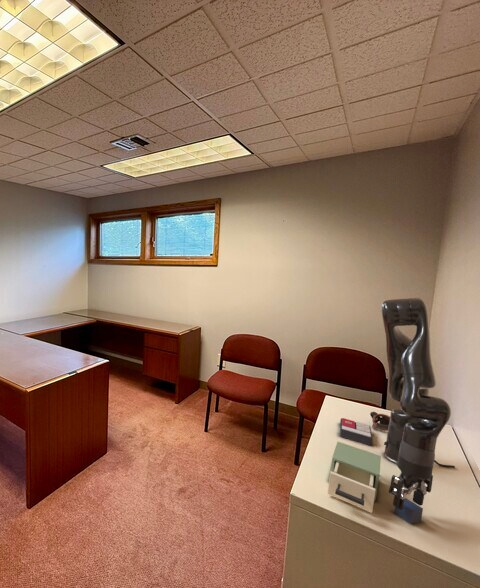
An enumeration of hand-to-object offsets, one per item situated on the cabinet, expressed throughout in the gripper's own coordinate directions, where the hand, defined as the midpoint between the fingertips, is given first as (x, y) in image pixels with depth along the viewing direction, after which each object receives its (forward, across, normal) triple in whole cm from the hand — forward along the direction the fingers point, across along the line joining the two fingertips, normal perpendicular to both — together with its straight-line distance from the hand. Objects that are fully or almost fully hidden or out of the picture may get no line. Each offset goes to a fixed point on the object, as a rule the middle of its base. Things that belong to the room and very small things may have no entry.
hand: (407, 505), depth 100 cm
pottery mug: (+3, -53, -42) cm, 68 cm away
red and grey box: (+4, -34, -41) cm, 53 cm away
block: (+4, 0, 0) cm, 4 cm away
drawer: (+3, +10, -10) cm, 14 cm away
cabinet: (+4, 0, -16) cm, 17 cm away
